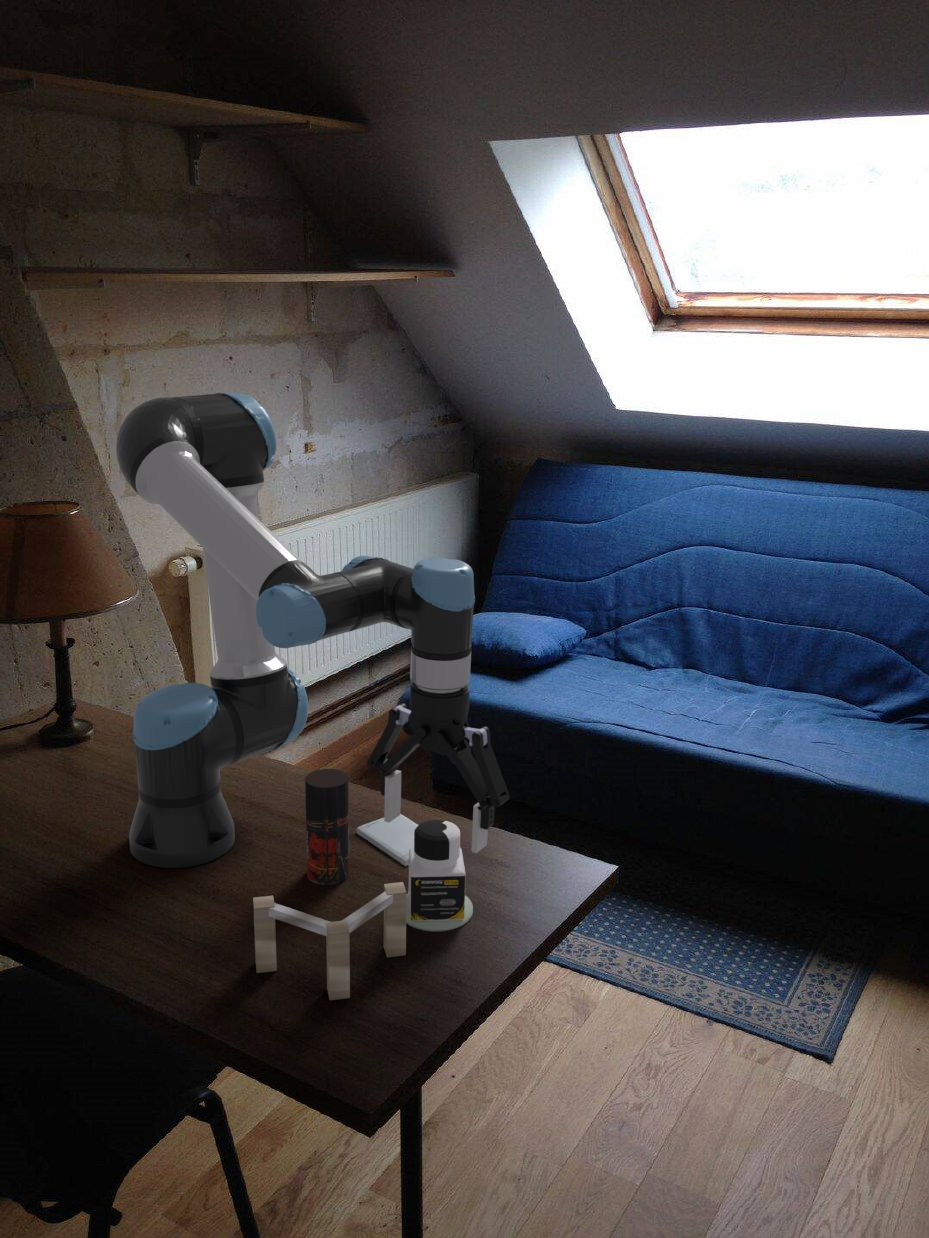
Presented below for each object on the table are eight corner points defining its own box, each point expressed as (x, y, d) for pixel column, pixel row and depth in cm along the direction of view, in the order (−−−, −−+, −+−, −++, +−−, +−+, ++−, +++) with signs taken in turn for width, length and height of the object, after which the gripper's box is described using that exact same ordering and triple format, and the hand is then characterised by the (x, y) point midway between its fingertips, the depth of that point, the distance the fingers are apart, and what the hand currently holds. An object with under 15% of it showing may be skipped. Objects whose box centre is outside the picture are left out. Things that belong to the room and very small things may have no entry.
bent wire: (255, 961, 136) (253, 897, 133) (402, 944, 140) (402, 881, 137) (260, 1009, 127) (257, 941, 124) (416, 989, 131) (417, 923, 128)
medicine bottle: (410, 922, 144) (411, 840, 140) (408, 893, 150) (409, 814, 147) (464, 921, 144) (466, 839, 141) (460, 892, 151) (462, 813, 147)
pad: (392, 894, 151) (392, 891, 151) (463, 886, 153) (463, 883, 153) (405, 935, 142) (406, 932, 141) (480, 926, 144) (481, 923, 144)
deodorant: (300, 870, 156) (297, 774, 152) (337, 859, 159) (336, 765, 155) (318, 889, 152) (317, 791, 147) (356, 877, 155) (356, 781, 150)
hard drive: (356, 826, 167) (405, 859, 158) (399, 811, 172) (449, 842, 163) (356, 836, 167) (405, 869, 158) (399, 820, 172) (449, 852, 163)
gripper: (542, 696, 135) (532, 848, 141) (376, 653, 147) (374, 795, 153) (512, 715, 128) (503, 874, 135) (342, 669, 141) (341, 816, 147)
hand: (434, 832), depth 144 cm, fingers open, 13 cm apart
